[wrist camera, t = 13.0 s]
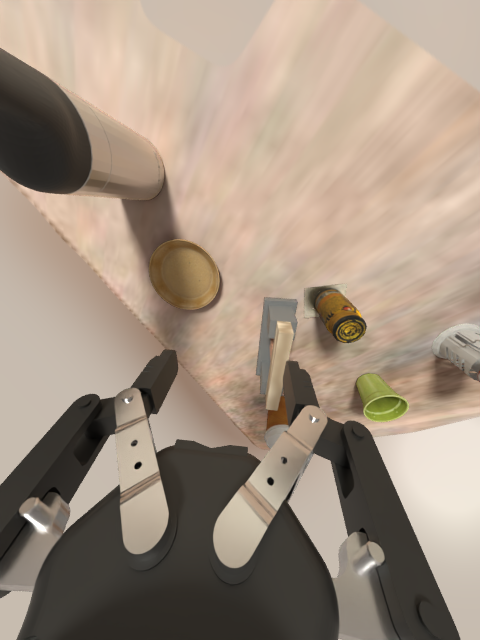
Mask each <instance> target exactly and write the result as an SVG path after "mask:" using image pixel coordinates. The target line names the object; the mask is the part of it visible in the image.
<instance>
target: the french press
mask: <svg viewBox="0 0 480 640" xmlns="http://www.w3.org/2000/svg"><path fill="white" fill-rule="evenodd" d="M432 351H433V354H435V355H436V356H438V357H440V358H445V359H449V361H451V359H453V361H451V362H452V363H454V365H456V363H459V365H456V366H457V367H459V369H461V370H462V371H464V373H465V374H467V375H468V376H470V377H471V378H473V379H474V380H477V381H479V382H480V327H478V326H477V325H473V324H469V323H468V324H460V325H456V326H453V327H451V328H448V329H447V330H445V331H444V332H442V333H441V334H439V335H438V337H437V338H436V339H435V340H434V342H433V345H432ZM456 359H459V361H456ZM462 363H464V365H462ZM462 367H464V369H462ZM470 368H471V369H470ZM469 371H476V372H477V373H469Z"/></svg>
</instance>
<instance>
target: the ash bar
mask: <svg viewBox="0 0 480 640" xmlns="http://www.w3.org/2000/svg"><path fill="white" fill-rule="evenodd" d="M293 336H294V332H293V329H292V325H291V322H284V321H277V324H276V331H275V337H274V343H273V350H272V356H271V362H270V369H269V375H268V381H267V388H266V394H265V397H266V410H275V411H278V406H279V401H280V397H281V392H282V387H283V374H284V369H285V365H286V361H288V359H289V355H290V350H291V345H292V341H293Z"/></svg>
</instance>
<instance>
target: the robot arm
mask: <svg viewBox="0 0 480 640" xmlns="http://www.w3.org/2000/svg"><path fill="white" fill-rule="evenodd" d="M0 170H1V171H2V172H3V173H4V174H6V175H7V176H8V177H10V178H11V179H13V180H14V181H16V182H17V183H19V184H21V185H23V186H25V187H27V188H30V189H33V190H35V191H39V192H45V193H54V194H67V195H80V196H94V197H107V198H120V199H131V200H150V199H152V198H154V197H155V196H157V195H158V194H159V192H160V191H161V189H162V186H163V183H164V167H163V163H162V160H161V157H160V155H159V153H158V151H157V150H156V148H155V147H154V146H153V145H152V143H150V142H149V141H148V140H147V139H146V138H144V137H143V136H141V135H139V134H138V133H136V132H135V131H133V130H132V129H130V128H129V127H127V126H125V125H124V124H122V123H121V122H119V121H117V120H116V119H114V118H113V117H111V116H109V115H108V114H106V113H105V112H103V111H102V110H100V109H98V108H97V107H95V106H94V105H92V104H90V103H89V102H87V101H86V100H84V99H82V98H81V97H79V96H78V95H76V94H74V93H73V92H71V91H69V90H68V89H66V88H65V87H63V86H61V85H60V84H58V83H57V82H55V81H53V80H52V79H50V78H49V77H47V76H45V75H44V74H42V73H41V72H39V71H37V70H36V69H34V68H32V67H31V66H29V65H27V64H26V63H24V62H22V61H21V60H19V59H18V58H16V57H14V56H13V55H11V54H9V53H8V52H6V51H5V50H3V49H1V48H0ZM177 372H178V362H177V355H176V351H175V350H164V351H163V352H162V353H161V355H160V356H156V357H154V358H153V359H151V360H150V361H149V363H148V364H147V365H146V367H145V368H144V370H143V372H141V374H140V375H139V376H138V378H137V379H136V381H135V382H134V383H133V385H132V386H131V388H128V389H125V390H123V391H121V392H120V393H119V394H118V395H117V396H116V397H113V398H107V399H101V400H100V398H99V396H98V395H96V394H88V395H85V396H82V397H81V398H79V399H77V400H76V401H75V402H74V403H73V404H72V405H71V406H70V407H69V408H68V409H67V411H66V412H65V413H64V414H63V415H62V416H61V417H60V419H59V420H58V421H57V422H56V423H55V424H54V425H53V426H52V428H51V429H50V430H49V431H48V432H47V433H46V434H45V435H44V437H43V438H42V439H41V440H40V441H39V442H38V444H37V445H36V446H35V447H34V448H33V449H32V450H31V451H30V453H29V454H28V455H27V456H26V457H25V458H24V459H23V460H22V462H21V463H20V464H19V465H18V466H17V467H16V468H15V469H14V471H13V472H12V473H11V474H10V475H9V476H8V477H7V479H6V480H5V481H4V482H3V483H2V484H1V485H0V598H2V597H3V596H5V595H7V594H8V593H9V592H11V591H29V592H33V594H32V597H31V602H30V605H29V608H28V611H27V614H26V617H25V620H24V622H23V625H22V628H21V630H20V633H19V635H18V637H17V640H338V639H342V640H460V637H459V634H458V631H457V629H456V626H455V624H454V621H453V619H452V617H451V614H450V612H449V610H448V608H447V605H446V603H445V601H444V599H443V596H442V594H441V592H440V589H439V587H438V585H437V583H436V581H435V578H434V576H433V574H432V571H431V569H430V567H429V565H428V562H427V560H426V558H425V555H424V553H423V551H422V549H421V546H420V544H419V542H418V540H417V537H416V535H415V533H414V530H413V528H412V526H411V523H410V521H409V519H408V517H407V514H406V512H405V510H404V508H403V505H402V503H401V501H400V498H399V496H398V494H397V492H396V489H395V487H394V485H393V483H392V480H391V478H390V476H389V473H388V471H387V469H386V467H385V464H384V462H383V460H382V457H381V455H380V453H379V451H378V448H377V446H376V444H375V442H374V439H373V437H372V435H371V433H370V431H369V430H368V429H367V428H366V427H365V426H364V425H362V424H361V423H358V422H356V421H347V422H346V423H345V424H342V423H339V422H337V421H334V420H332V419H330V418H328V417H327V416H326V414H325V413H324V412H323V411H322V410H321V409H320V407H319V404H318V401H317V398H316V395H315V391H314V388H313V385H312V383H311V378H310V375H309V374H308V373H307V372H306V370H304V369H300V368H299V365H298V362H297V361H286V365H285V369H284V374H283V390H284V397H285V405H286V412H287V419H288V427H289V429H288V430H287V431H284V432H283V433H282V434H281V436H280V437H279V438H278V440H277V441H276V442H275V444H274V445H273V446H272V448H271V449H270V450H269V452H268V453H267V455H266V456H265V457H264V459H263V460H262V461H260V460H258V459H257V458H256V457H254V456H252V455H251V454H249V453H247V452H248V448H247V447H242V446H232V445H228V446H222V447H216V448H209V447H207V446H204V445H202V444H199V443H197V442H195V441H187V440H179V439H178V440H176V443H175V445H174V446H170V447H167V448H165V449H162V450H161V451H159V452H157V451H156V447H155V443H154V439H153V436H152V431H151V428H150V424H149V420H148V418H149V416H150V414H157V413H158V411H159V409H160V407H161V405H162V403H163V401H164V399H165V397H166V395H167V393H168V391H169V389H170V387H171V385H172V383H173V381H174V379H175V377H176V375H177ZM112 434H115V438H116V449H117V459H118V471H119V481H120V485H118V486H117V487H116V488H115V489H114V490H112V491H111V492H110V493H109V494H108V495H106V496H105V497H104V498H103V499H102V500H101V501H99V502H98V503H97V504H96V505H95V506H94V507H92V508H91V509H90V510H89V511H88V512H87V513H85V514H84V515H83V516H82V517H81V518H80V519H78V520H77V521H76V522H75V523H74V524H73V525H71V526H70V527H69V528H68V529H67V530H66V532H64V530H65V527H66V524H67V521H68V519H69V516H70V507H69V505H68V504H69V503H70V501H71V499H72V498H73V496H74V494H75V492H76V491H77V489H78V488H79V485H80V484H81V483H82V481H83V479H84V477H85V476H86V474H87V472H88V471H89V469H90V467H91V466H92V464H93V462H94V461H95V459H96V457H97V456H98V454H99V452H100V451H101V449H102V447H103V445H104V444H105V442H106V441H107V439H108V437H109V436H110V435H112ZM314 453H315V454H317V455H319V456H321V457H323V458H326V459H328V460H330V461H331V464H332V469H333V473H334V477H335V482H336V486H337V490H338V495H339V499H340V503H341V508H342V512H343V516H344V520H345V525H346V529H347V534H348V538H347V539H346V540H345V541H344V542H343V543H342V545H341V546H340V549H339V574H338V576H337V578H331V575H330V573H329V570H328V568H327V566H326V564H325V562H324V561H323V559H322V557H321V555H320V554H319V552H318V551H317V549H316V547H315V546H314V544H313V542H312V541H311V539H310V538H309V536H308V534H307V533H306V531H305V530H304V528H303V526H302V525H301V523H300V522H299V520H298V518H297V517H296V515H295V514H294V512H293V510H292V509H291V507H290V506H289V504H288V502H289V500H290V499H291V497H292V494H293V493H294V491H295V489H296V487H297V485H298V483H299V481H300V479H301V477H302V475H303V473H304V471H305V469H306V467H307V466H308V464H309V462H310V460H311V458H312V456H313V454H314ZM63 532H64V533H63Z"/></svg>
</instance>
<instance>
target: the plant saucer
mask: <svg viewBox="0 0 480 640" xmlns="http://www.w3.org/2000/svg"><path fill="white" fill-rule="evenodd" d="M149 276H150V280H151V283H152V285H153V287H154V289H155V290H156V292H157V293H158V295H159V296H160V297H161V298H162V299H163V300H165V301H166V302H167V303H169V304H170V305H172V306H174V307H177V308H180V309H185V310H195V309H199V308H202V307H204V306H206V305H208V304H209V303H210V302H211V301H212V300H213V299H214V298H215V296H216V294H217V292H218V289H219V283H220V278H219V272H218V268H217V266H216V263H215V261H214V260H213V258H212V257H211V256H210V254H209V253H208V252H207V251H206V250H205V249H203V248H202V247H201V246H199V245H198V244H196V243H193V242H191V241H188V240H183V239H175V240H169V241H167V242H164V243H163V244H161V245H160V246H158V247H157V249H156V250H155V251H154V252H153V254H152V256H151V259H150V262H149Z"/></svg>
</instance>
